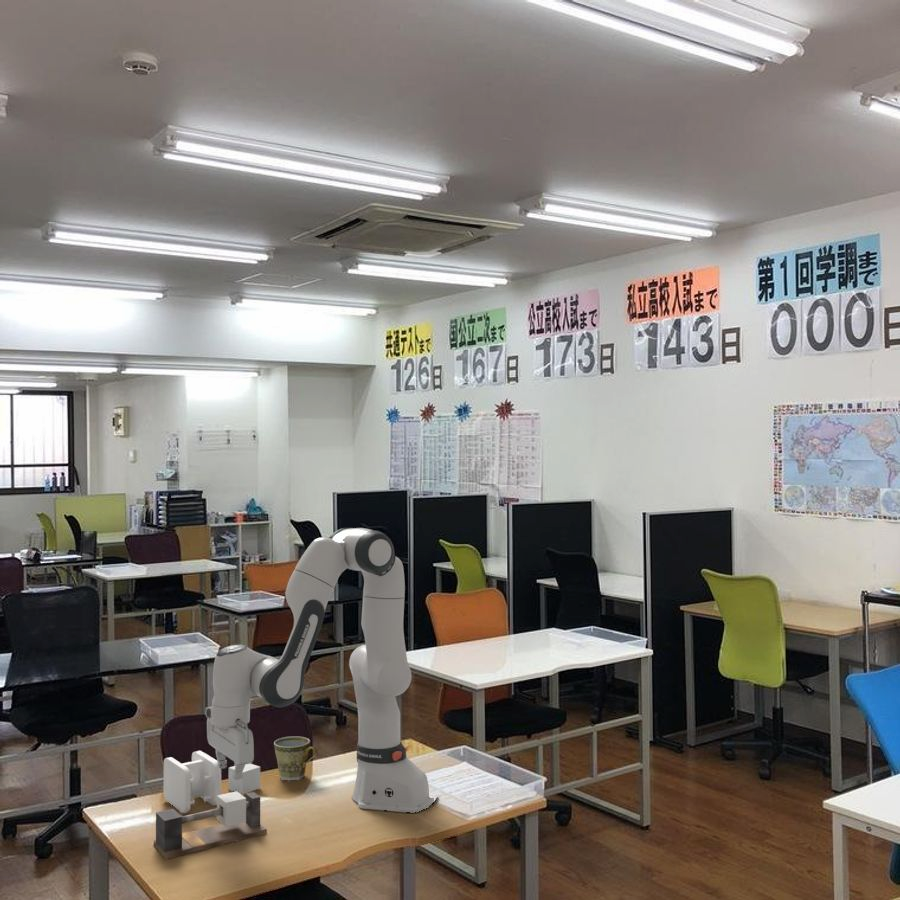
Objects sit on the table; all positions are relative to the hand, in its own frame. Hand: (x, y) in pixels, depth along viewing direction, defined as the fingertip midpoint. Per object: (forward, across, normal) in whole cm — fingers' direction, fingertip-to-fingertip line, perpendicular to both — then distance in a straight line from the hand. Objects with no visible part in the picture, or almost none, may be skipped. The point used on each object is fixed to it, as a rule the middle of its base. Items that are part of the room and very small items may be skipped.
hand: (229, 773), depth 218 cm
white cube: (+11, 0, -1) cm, 11 cm away
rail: (+15, 0, +4) cm, 15 cm away
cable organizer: (+15, +24, 0) cm, 29 cm away
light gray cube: (+15, +26, -15) cm, 34 cm away
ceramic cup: (+14, +26, -30) cm, 42 cm away
